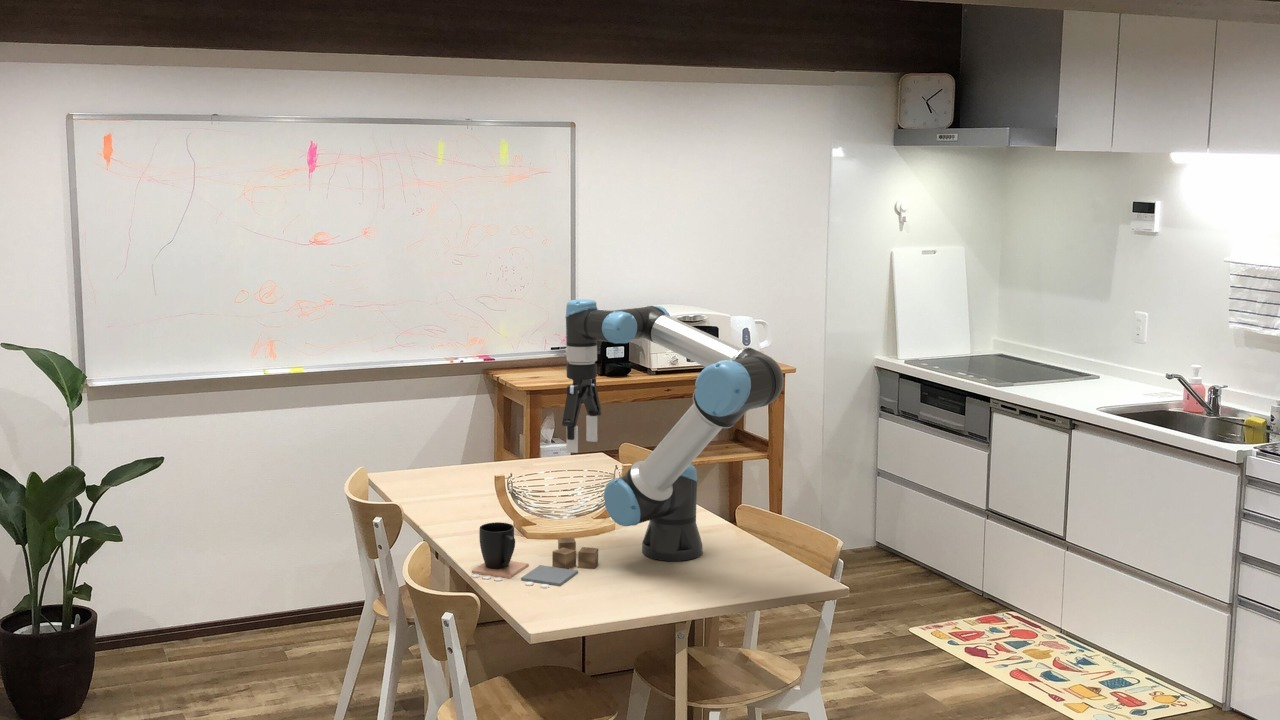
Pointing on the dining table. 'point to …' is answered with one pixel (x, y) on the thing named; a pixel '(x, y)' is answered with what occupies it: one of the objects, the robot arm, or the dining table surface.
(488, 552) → the mug
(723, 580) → the dining table surface
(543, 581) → the pad two
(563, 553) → the block
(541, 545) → the dining table surface
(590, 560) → the block
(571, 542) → the block
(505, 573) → the pad three
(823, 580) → the dining table surface
